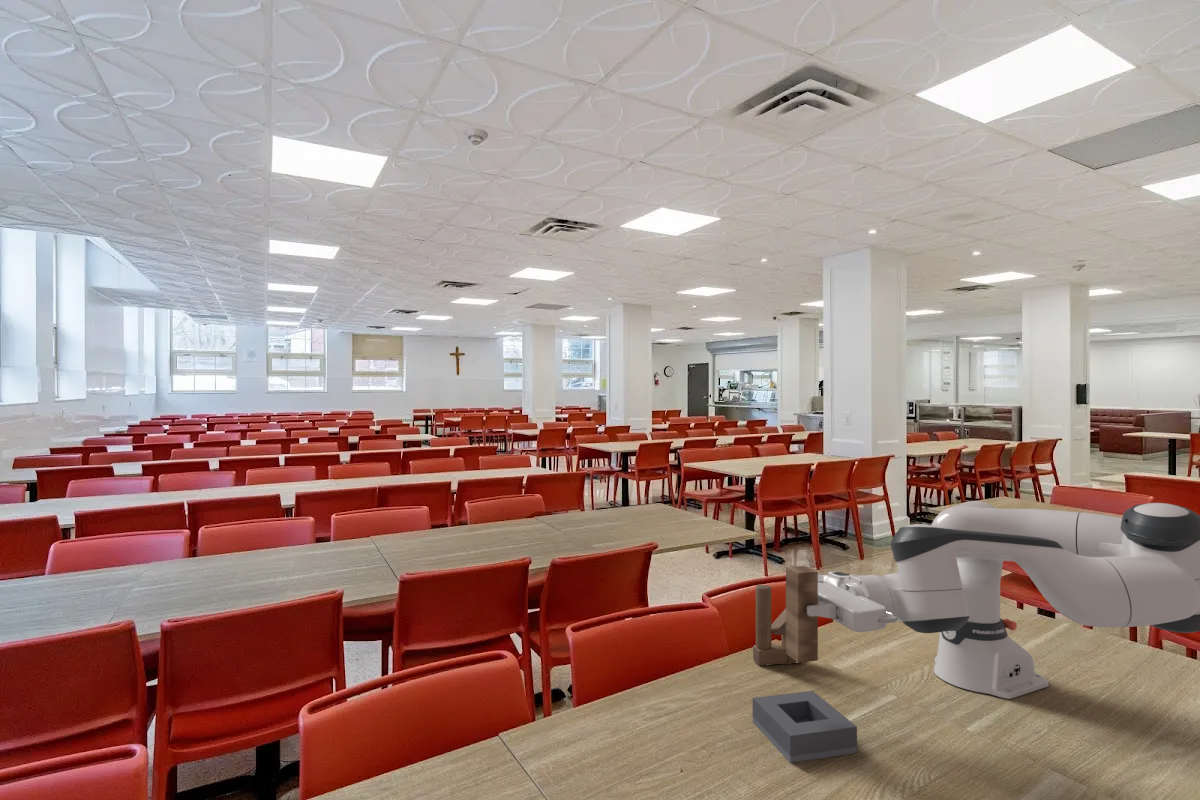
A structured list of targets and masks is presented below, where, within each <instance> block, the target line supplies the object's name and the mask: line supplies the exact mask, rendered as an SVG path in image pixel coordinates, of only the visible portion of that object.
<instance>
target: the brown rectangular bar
mask: <svg viewBox="0 0 1200 800" xmlns="http://www.w3.org/2000/svg"><path fill="white" fill-rule="evenodd" d="M818 573H819V572H818V570H815V569H813V568H810V567H808V566H806V565H799V566H797V565H795V566H786V567H785V609H786V654H787V655H789V656H790V657H791V658H793V659H794V660H795V661H797V662H798V663H799V664H801V663H807V662H808V663H810V662H816V661H818V660H819V659H818V658H819V655H818V654H819V653H818V652H819V651H818V650H819V647H818V646H819V643H818V641H819V640H818V639H819V628H818V627H819V626H818V625H819V623H818V621H819V616H811V617H810V616H808V615H807V614H805V613H804V605H805V604H810V603H813V604H815V605H818V575H819V574H818ZM800 662H801V663H800Z"/></svg>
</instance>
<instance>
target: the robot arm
mask: <svg viewBox="0 0 1200 800" xmlns="http://www.w3.org/2000/svg"><path fill="white" fill-rule="evenodd" d="M889 545H890V549H891V551H892V555H893V559H894V561H895V563H896V567H897V572H894V573H892V572H891V573H886V574H884V575H878V574H865V575H864V574H863V575H862V574H849V573H845V572H840V571H835V570H833V571H828V573H827V574H818V605H815V604H813V603H810V604H805V605H804V613H805V614H807V615H808V616H810V617H811V616H818V618H819V617H820V618H825V619H826V618H827V619H832V620H833V621H835V622H837V623H838V624H840V625H842V626H843V627H845V628H847V629H849V630H850V631H852V632H856V633H868V632H874V631H879V630H882V629H885V628H886V627H887V624H893V623H897V622H899V623H903V624H904V625H905V626H906V627H908V628H910V629H911V630H912V631H915V632H917V633H920V634H935V633H939V636H938V644H937V654H936V656H935V657H934V663H935V664H934V667H933V672H934V674H935V675H936V676H937V677H938V678H940V679H941V680H942V681H944V682H946V683H948V684H950V685H952V686H955V687H958V688H961V689H964V690H967V691H971V692H976V693H982V694H988V695H992V696H996V697H999V698H1002V699H1007V700H1008V699H1009V700H1010V699H1011V700H1012V699H1015V698H1017V697H1020V696H1023V695H1027V694H1029V693H1032V692H1035V691H1038V690H1042V689H1044V688H1047V687H1049V685H1050V684H1049V681H1048V679H1046V678H1045V677H1044V676H1042V675H1041V674H1039V673H1038V672H1036V671H1035V665H1034V663H1035V662H1034V659H1033V657H1032V655H1031V653H1030V652H1029V651H1027V649H1025V648H1024V647H1022V645H1020V644H1019V643H1017V641H1015V640H1014V639H1012V637H1010V636H1009V634H1008V632H1007V629H1008V630H1009V631H1016V630H1017V628H1018V623H1017V622H1016V621H1014V620H1010V619H1008V618H1005V619H1003V618H1001V580H1002V572H1003V564H1004V562H1014V563H1016V564H1017V565H1018V566H1019V567H1020V568H1021V569H1022V570H1023V571H1024V572H1025V574H1027V576H1028V577H1029V578H1030V580H1031V582H1033V584H1034V585H1035V587H1036V588H1037V590H1038V592H1039V593H1040V594H1041V595H1042V596H1043V598H1044V599H1045V600H1046V602H1048V603H1049V604H1050V606H1051V607H1052V608H1054V609H1055V610H1056V611H1057V612H1058V613H1059V614H1061V615H1062V616H1063V617H1065V618H1067V619H1068V620H1070V621H1071V622H1074V623H1076V624H1079V625H1082V626H1087V627H1096V628H1097V627H1098V628H1131V627H1134V628H1135V627H1146V626H1152V627H1153V628H1156V629H1159V630H1163V631H1167V632H1171V633H1172V632H1173V633H1180V634H1190V633H1197V632H1200V514H1198V513H1197V512H1195V511H1193V510H1192V509H1190V508H1187V507H1184V506H1181V505H1177V504H1171V503H1163V502H1151V503H1139V504H1136V505H1133V506H1131V507H1128V509H1126V510H1125V511H1124V512H1123V515H1122V517H1120V516H1119V517H1117V516H1114V515H1112V516H1111V515H1106V514H1099V513H1093V512H1092V513H1091V512H1079V511H1068V510H1066V511H1065V510H1057V509H1056V510H1055V509H1054V510H1053V509H1044V508H1043V509H1041V508H1001V507H1000V508H999V507H998V508H997V507H996V506H994V505H992V504H990V503H987V502H984V501H979V500H969V501H966V502H962V503H960V504H959V503H958V504H957V505H954V506H953V505H952V506H950V507H948V508H945V509H943V510H942V511H940V512H939V513H938V514H937V515H936V516H935V517H934V519H933V521H932V522H931V524H926V523H924V524H923V523H915V524H909V525H905V526H900V527H899V528H898V530H897V531H896V532H895V533H894V535H893V537H892V538H891V541H890V543H889Z"/></svg>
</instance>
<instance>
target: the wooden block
mask: <svg viewBox="0 0 1200 800" xmlns="http://www.w3.org/2000/svg"><path fill="white" fill-rule="evenodd" d="M772 634H773V635H774V636H776V635H781V636H780V637H781V640H780V642H781V643H780V644H781V645H780V644H776V643H772ZM752 650H753V651H752V652H753V653H752V654H753V656H752V659H754V660H755V661H756V662H757V663H758V664H757V663H756V662H755V661H754V660H753V661H754V662H755V663H756V664H757V665H758V666H759V665H766V666H771V665H770V664H781V665H787V664H786V663H796V662H797V661H795V660H794V659H793V658H791V657H790V656H789V655H787V654H786V608H784V610H783V611H782V612H781V613H780V614H779V615H778V616H777V618H776V619H775V620H774V621H773V622H772V587H771V586H769V585H768V584H757V585H756V586H755V644H754V645H753V646H752ZM767 664H769V665H767Z"/></svg>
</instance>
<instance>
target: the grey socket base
mask: <svg viewBox="0 0 1200 800" xmlns="http://www.w3.org/2000/svg"><path fill="white" fill-rule="evenodd" d="M752 723H753V724H754V725H755V726H756V727H757V728H758V729H759V731H760V732H761V733H762V734H763V735H764V736H765V737H766V738H767V739H768V740H769V741H770V742H771V743H772V744H773V746H774V747H775V748H776V749H777V750H778V751H779V753H781V754H782V756H783V757H784V758H786V760H787V762H789V763H791V764H792V763H797V762H799V763H800V762H804V761H805V762H806V761H812V760H818V759H823V758H830V757H838V756H845V755H853V754H857V753H858V726H857V725H856V724H854V723H853V722H852V721H850V720H849V719H848V718H847V717H846V716H845V715H843V714H842V713H841V712H839V710H837V709H836V708H835V707H834V706H832V705H831V704H830V703H828V702H827V701H826V700H825V699H823V698H822V697H821V696H820V695H818V694H817V693H816V692H815V691H814V690H807V691H801V692H799V691H798V692H791V693H783V694H781V693H780V694H775V695H773V694H772V695H767V696H766V695H765V696H757V697H756V696H755V697H752Z"/></svg>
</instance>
